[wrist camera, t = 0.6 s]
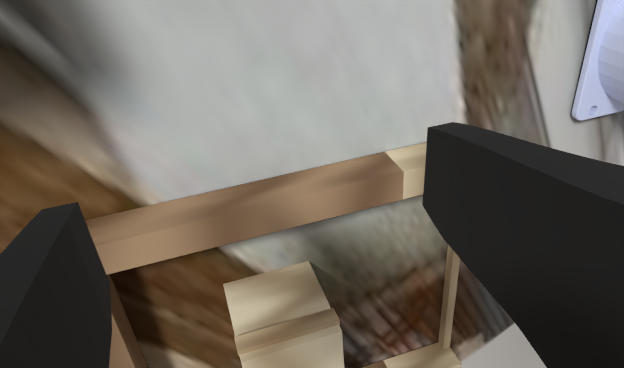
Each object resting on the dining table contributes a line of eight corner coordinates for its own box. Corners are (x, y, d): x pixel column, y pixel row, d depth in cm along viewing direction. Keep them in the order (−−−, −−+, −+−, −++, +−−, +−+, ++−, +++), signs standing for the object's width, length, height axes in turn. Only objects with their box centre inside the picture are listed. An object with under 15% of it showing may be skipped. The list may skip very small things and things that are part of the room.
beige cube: (308, 256, 25) (342, 327, 21) (317, 339, 29) (348, 413, 25) (220, 279, 24) (239, 359, 20) (241, 362, 28) (259, 444, 24)
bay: (467, 132, 24) (491, 150, 23) (443, 354, 33) (459, 378, 32) (49, 228, 20) (42, 258, 18) (153, 452, 29) (154, 485, 28)
